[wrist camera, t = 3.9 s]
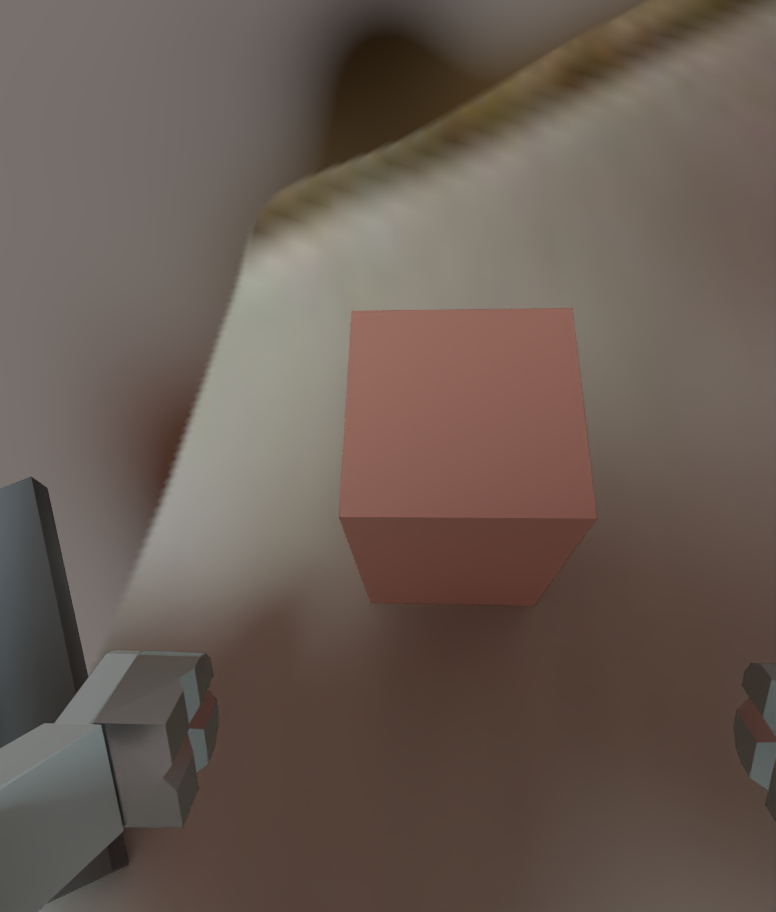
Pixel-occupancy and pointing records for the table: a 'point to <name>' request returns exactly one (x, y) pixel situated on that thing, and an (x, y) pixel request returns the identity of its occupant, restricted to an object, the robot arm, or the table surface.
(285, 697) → the table surface
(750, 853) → the table surface
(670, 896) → the table surface
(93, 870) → the tower base
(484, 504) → the red block
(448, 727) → the table surface
